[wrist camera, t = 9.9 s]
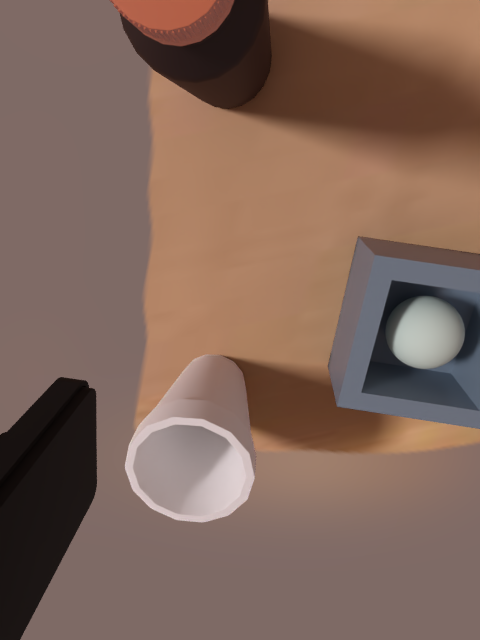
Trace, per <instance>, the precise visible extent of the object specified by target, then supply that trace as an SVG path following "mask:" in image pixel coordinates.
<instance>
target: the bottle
mask: <svg viewBox="0 0 480 640" xmlns="http://www.w3.org/2000/svg"><path fill="white" fill-rule="evenodd" d="M110 1H111V2H112V3H113V4H114V7H115V8H116V9H118V12H119V13H120V16H121V20H122V24H123V28H124V31H125V33H126V34H127V36H128V38H129V40H130V42H131V43H132V45H133V47H134V49H135V51H136V52H137V54H138V55H139V56H140V57H141V58H142V59H143V60H145V62H146V63H147V64H148V65H149V66H150V67H151V68H152V69H153V70H155V71H156V72H158V73H159V74H161V75H162V76H164V77H166V78H167V79H169V80H170V81H172V82H174V83H175V84H177V85H178V86H180V87H181V88H183V89H185V90H186V91H188V92H189V93H191V94H193V95H194V96H196V97H197V98H199V99H201V100H202V101H204V102H206V103H208V104H210V105H212V106H214V107H220V108H228V109H229V108H233V107H237V106H242V105H243V104H245V103H246V102H248V101H250V100H251V99H253V98H254V97H255V96H256V95H257V93H258V92H259V91H260V90H261V89H262V87H263V86H264V84H265V81H266V79H267V77H268V74H269V72H270V64H271V56H272V55H271V41H270V26H269V12H268V0H110Z"/></svg>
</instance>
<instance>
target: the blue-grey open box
mask: <svg viewBox="0 0 480 640" xmlns="http://www.w3.org/2000/svg"><path fill="white" fill-rule="evenodd" d="M416 296H433V297H437V298H440V299H443V300H444V301H446V302H448V303H449V304H451V305H452V306H453V307H454V308H455V309H456V310H457V312H458V313H459V314H460V316H461V318H462V320H463V323H464V328H465V338H464V342H463V345H462V347H461V349H460V351H459V353H458V354H457V355H456V356H455V357H454V358H453V359H452V360H451V361H449V362H448V363H446V364H444V365H442V366H440V367H437V368H432V369H420V368H414V367H411V366H409V365H407V364H405V363H403V362H402V361H400V360H399V359H398V358H397V357H396V356H395V355H394V354H393V353H392V351H391V350H390V348H389V346H388V344H387V340H386V334H385V329H386V323H387V320H388V318H389V316H390V314H391V312H392V311H393V310H394V309H395V308H396V307H397V306H398V305H399V304H400V303H402V302H403V301H405V300H407V299H409V298H412V297H416ZM328 369H329V374H330V378H331V383H332V387H333V391H334V396H335V400H336V404H337V407H343V408H349V409H356V410H362V411H369V412H375V413H381V414H388V415H394V416H401V417H407V418H413V419H420V420H426V421H433V422H439V423H446V424H452V425H458V426H465V427H471V428H478V429H480V254H476V253H469V252H462V251H455V250H449V249H442V248H435V247H428V246H421V245H414V244H407V243H400V242H393V241H386V240H380V239H373V238H366V237H359V236H358V238H357V243H356V247H355V251H354V256H353V260H352V264H351V269H350V273H349V277H348V282H347V286H346V290H345V295H344V299H343V303H342V308H341V312H340V316H339V320H338V325H337V329H336V333H335V338H334V342H333V346H332V351H331V355H330V359H329V364H328Z"/></svg>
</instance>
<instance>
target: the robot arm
mask: <svg viewBox="0 0 480 640" xmlns="http://www.w3.org/2000/svg"><path fill="white" fill-rule="evenodd" d="M96 451H97V449H96V391H95V389H93V388H89V385H88V382H87V381H84V380H77V379H70V378H64V377H60V378H58V379H57V380H56V381H55V382H54V383H53V384H52V385H51V386H50V387H49V388H48V389H47V391H45V392H44V394H43V395H42V396H41V397H40V398H39V399H38V400H37V401H36V402H35V403H34V404H33V405H32V406H31V407H30V408H29V410H27V411H26V413H25V414H24V415H23V416H22V417H21V418H20V419H19V420H18V421H17V422H16V423H15V424H14V425H13V426H12V427H11V428H10V430H8V432H5V433H2V434H1V435H0V640H20V639H21V637H22V635H23V633H24V631H25V629H26V627H27V625H28V623H29V621H30V619H31V618H32V615H33V614H34V612H35V610H36V608H37V606H38V604H39V602H40V600H41V598H42V596H43V594H44V593H45V591H46V589H47V587H48V585H49V583H50V581H51V579H52V577H53V575H54V574H55V572H56V570H57V568H58V566H59V564H60V562H61V560H62V558H63V556H64V555H65V553H66V551H67V549H68V547H69V545H70V543H71V541H72V539H73V537H74V535H75V533H76V532H77V530H78V528H79V526H80V524H81V522H82V520H83V518H84V516H85V514H86V512H87V511H88V509H89V507H90V505H91V503H92V501H93V498H94V495H95V492H96V486H97V460H96V459H97V458H96V457H97V454H96V453H97V452H96Z"/></svg>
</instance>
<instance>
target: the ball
mask: <svg viewBox="0 0 480 640" xmlns="http://www.w3.org/2000/svg"><path fill="white" fill-rule="evenodd" d="M385 334H386V340H387V344H388V346H389V348H390V350H391V351H392V353H393V354H394V355H395V356H396V357H397V358H398V359H399V360H400V361H402V362H403V363H405V364H407V365H409V366H411V367H414V368H420V369H432V368H437V367H440V366H442V365H444V364H446V363H448V362H449V361H451V360H452V359H453V358H454V357H455V356H456V355H457V354H458V353H459V351H460V349H461V347H462V345H463V342H464V338H465V328H464V323H463V320H462V318H461V316H460V314H459V313H458V312H457V310H456V309H455V308H454V307H453V306H452V305H451V304H449V303H448V302H446V301H444V300H443V299H440V298H437V297H433V296H416V297H412V298H409V299H407V300H405V301H403V302H402V303H400V304H399V305H398V306H397V307H396V308H395V309H394V310H393V311H392V312H391V314H390V316H389V318H388V320H387V323H386V329H385Z"/></svg>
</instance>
